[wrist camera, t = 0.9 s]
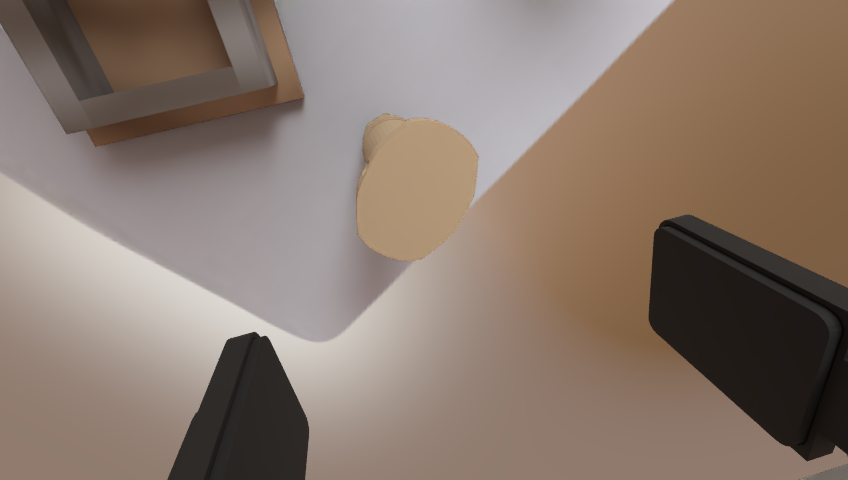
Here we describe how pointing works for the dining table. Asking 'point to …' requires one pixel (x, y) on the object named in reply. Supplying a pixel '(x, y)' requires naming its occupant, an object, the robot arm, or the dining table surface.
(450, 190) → the handle
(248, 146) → the dining table surface
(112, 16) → the socket
